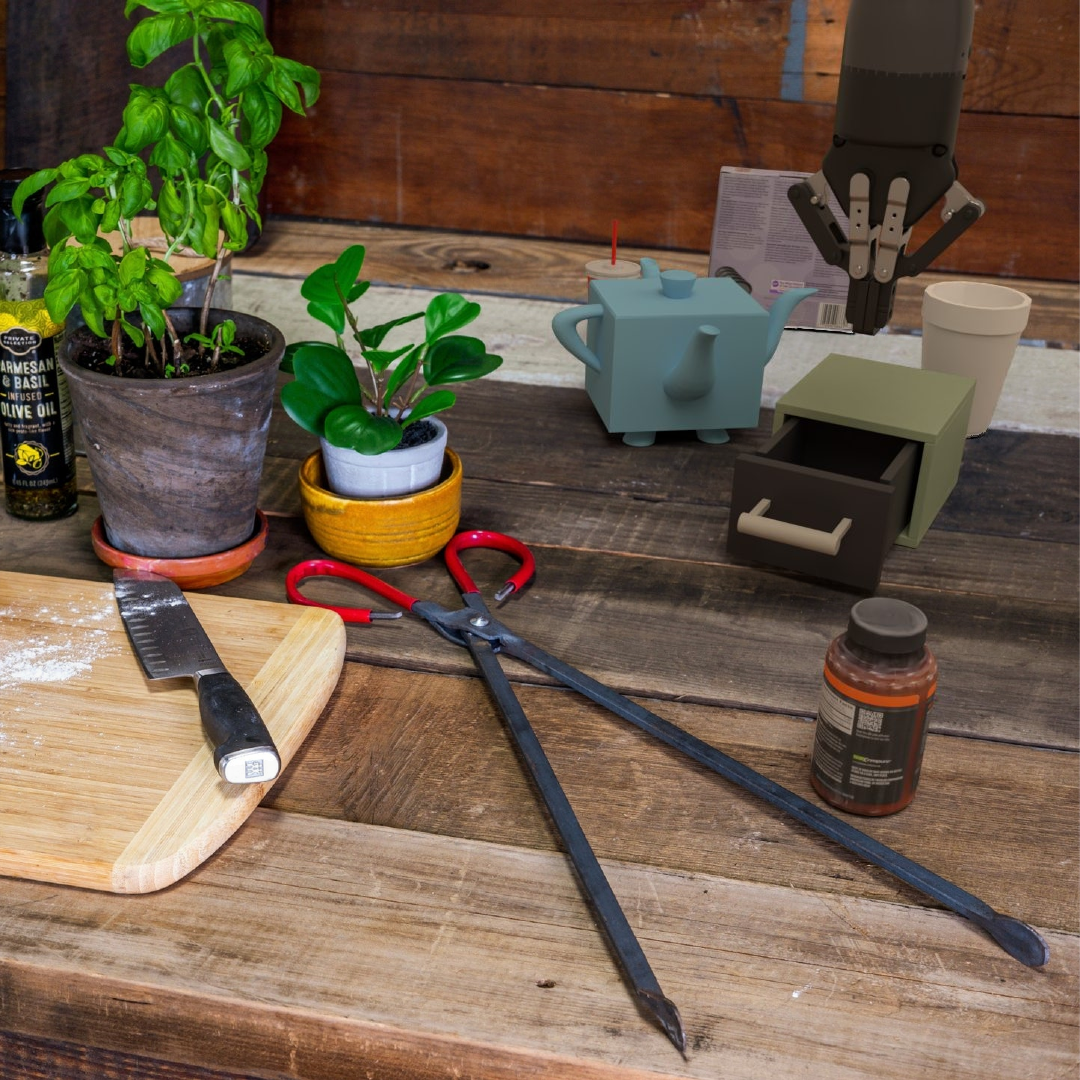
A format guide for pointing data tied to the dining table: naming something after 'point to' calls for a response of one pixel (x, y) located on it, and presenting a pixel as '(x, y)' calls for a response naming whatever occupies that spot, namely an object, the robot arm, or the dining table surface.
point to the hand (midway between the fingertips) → (866, 331)
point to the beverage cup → (612, 265)
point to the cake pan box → (775, 246)
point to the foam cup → (973, 338)
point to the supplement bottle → (874, 709)
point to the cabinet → (892, 419)
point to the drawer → (824, 500)
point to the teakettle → (675, 351)
